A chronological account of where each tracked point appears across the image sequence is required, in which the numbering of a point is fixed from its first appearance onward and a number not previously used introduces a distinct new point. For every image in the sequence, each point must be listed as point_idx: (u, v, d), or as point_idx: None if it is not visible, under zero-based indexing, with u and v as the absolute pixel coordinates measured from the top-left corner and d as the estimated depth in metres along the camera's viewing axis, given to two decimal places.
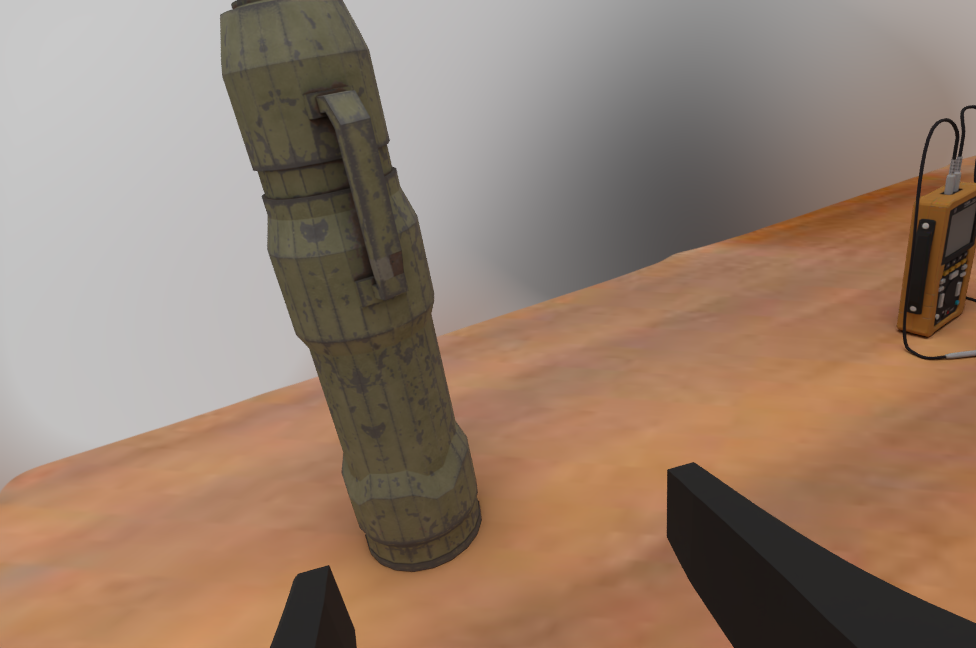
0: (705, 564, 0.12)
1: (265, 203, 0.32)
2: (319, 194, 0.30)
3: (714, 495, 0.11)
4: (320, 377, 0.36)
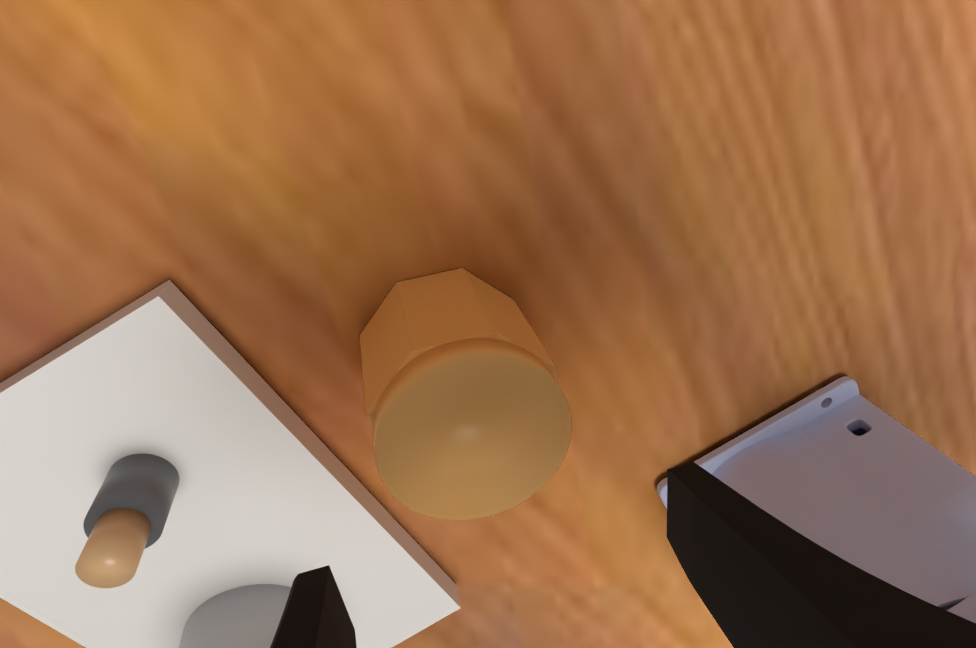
0: (705, 564, 0.12)
1: None
2: None
3: (714, 495, 0.11)
4: None
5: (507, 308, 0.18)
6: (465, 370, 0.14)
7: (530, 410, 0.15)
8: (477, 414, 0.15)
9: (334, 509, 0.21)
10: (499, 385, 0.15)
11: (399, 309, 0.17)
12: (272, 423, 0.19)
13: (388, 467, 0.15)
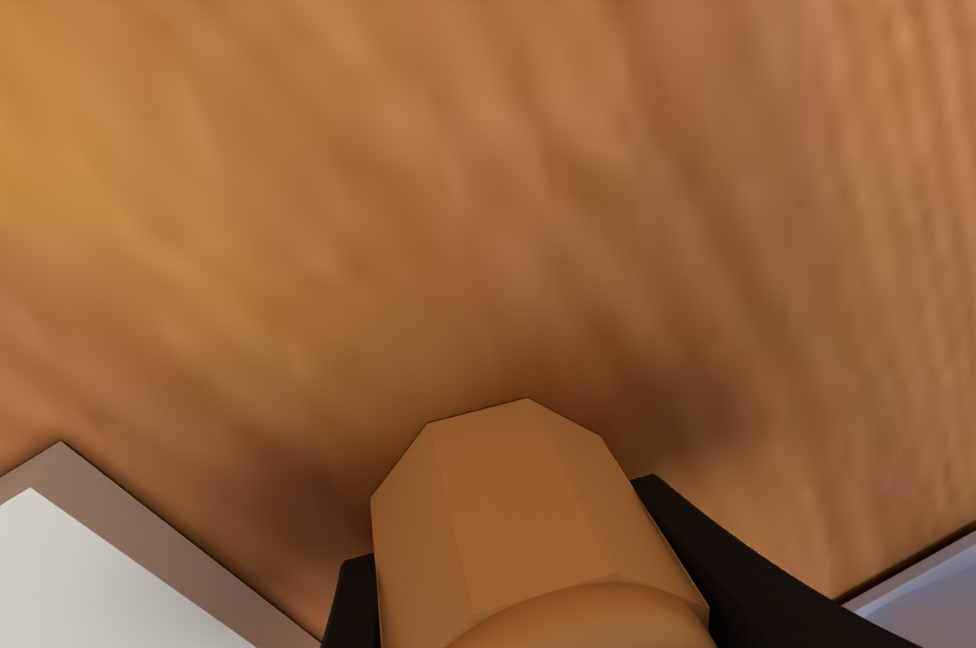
0: None
1: None
2: None
3: (669, 508, 0.11)
4: None
5: (603, 470, 0.12)
6: None
7: None
8: None
9: None
10: None
11: (438, 490, 0.10)
12: (234, 643, 0.12)
13: None
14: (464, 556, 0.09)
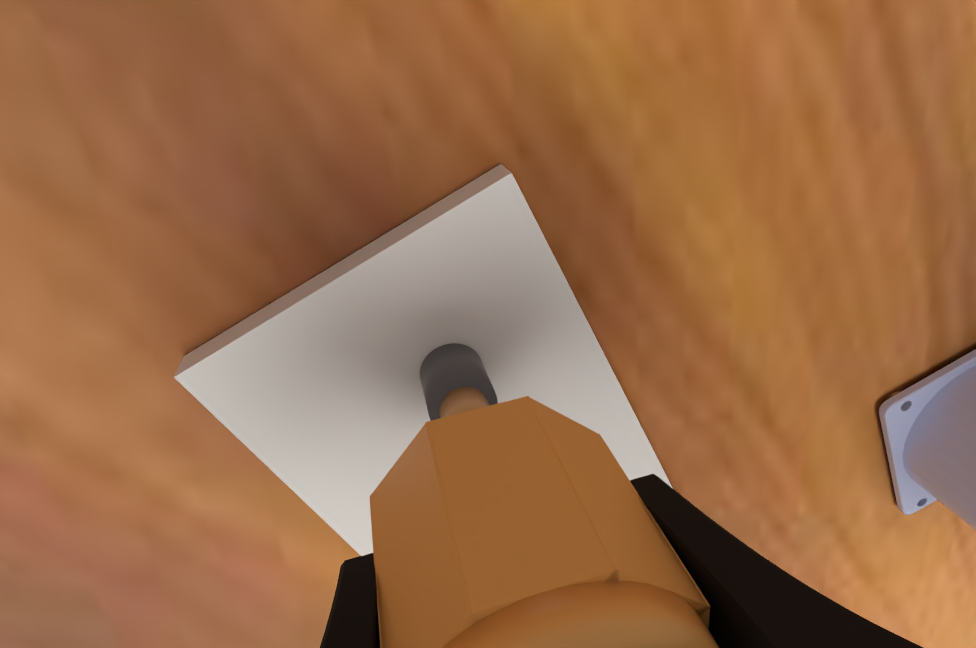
0: None
1: None
2: None
3: (669, 508, 0.11)
4: None
5: (603, 468, 0.12)
6: None
7: None
8: None
9: (608, 412, 0.21)
10: None
11: (438, 488, 0.10)
12: (576, 315, 0.19)
13: None
14: (463, 554, 0.09)
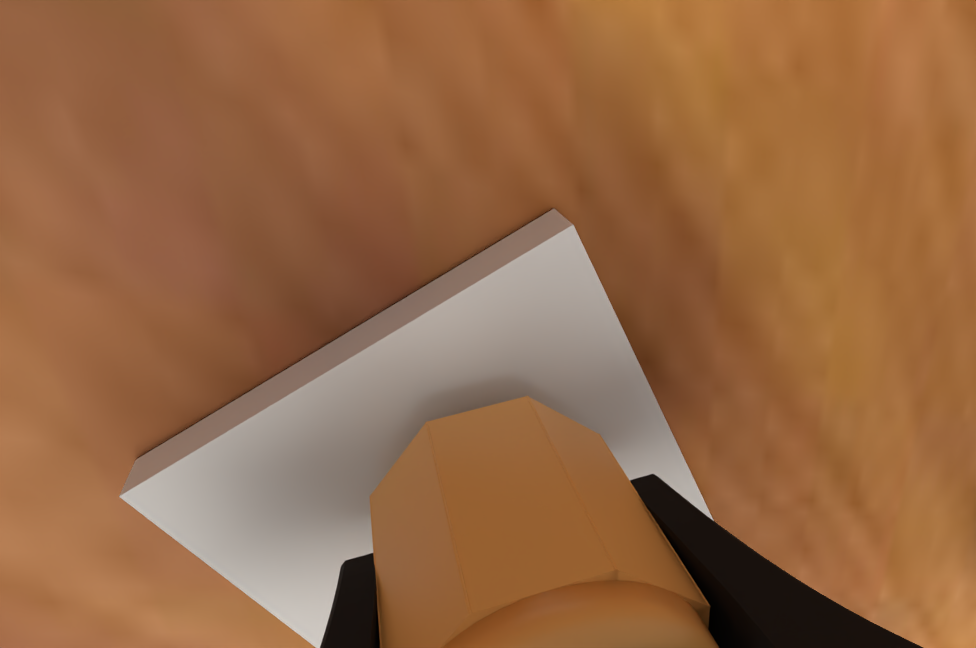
0: None
1: None
2: None
3: (669, 508, 0.11)
4: None
5: (603, 468, 0.12)
6: None
7: None
8: None
9: None
10: None
11: (438, 487, 0.10)
12: (646, 399, 0.14)
13: None
14: (463, 554, 0.09)
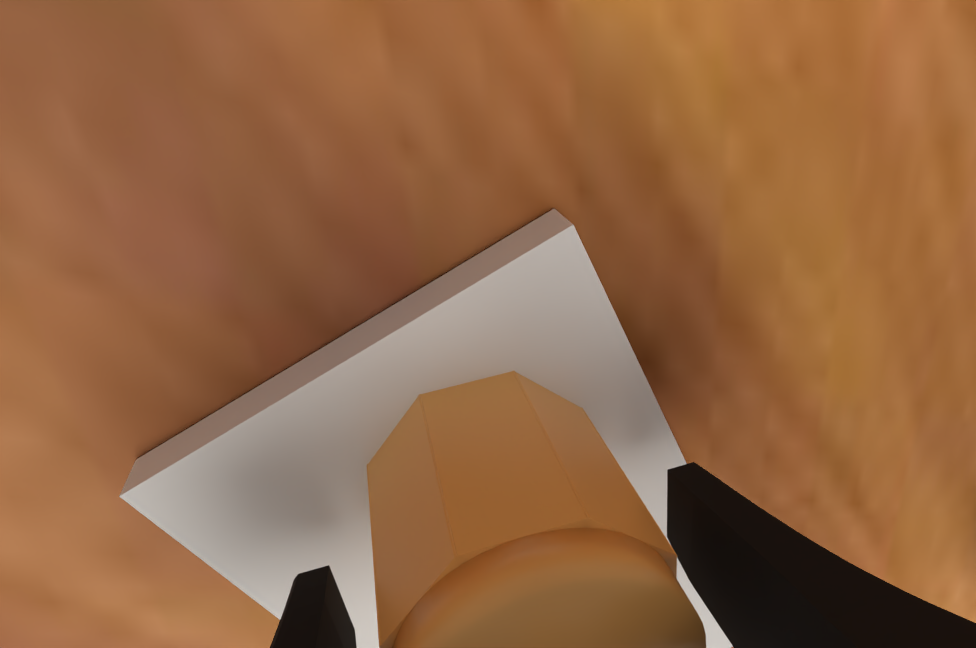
0: (704, 564, 0.12)
1: None
2: None
3: (714, 495, 0.11)
4: None
5: (583, 436, 0.12)
6: (549, 603, 0.08)
7: (645, 642, 0.09)
8: None
9: None
10: (602, 616, 0.09)
11: (428, 452, 0.11)
12: (646, 399, 0.14)
13: None
14: (451, 507, 0.10)
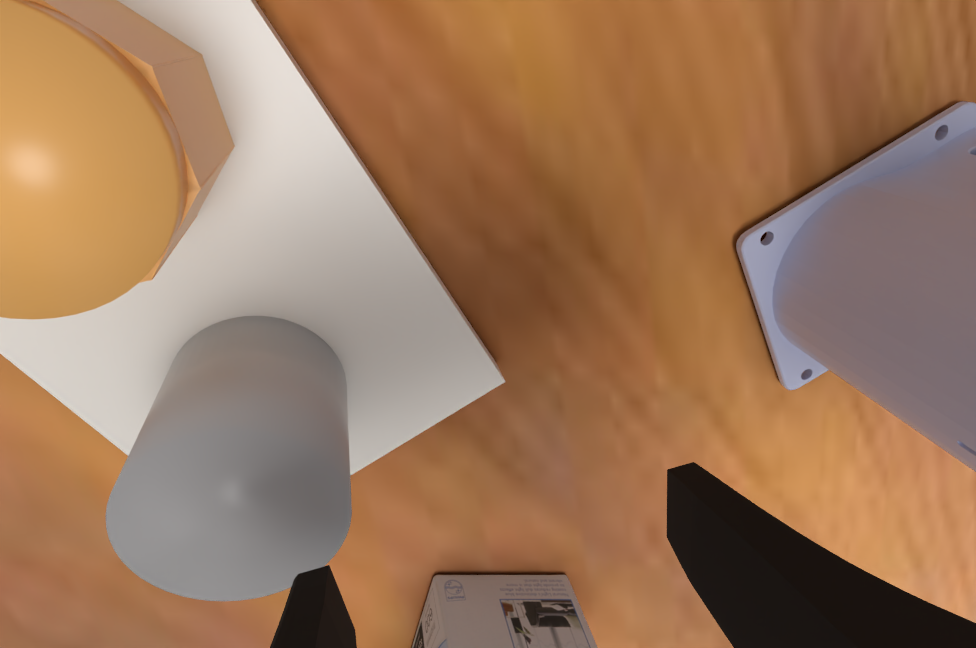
0: (705, 564, 0.12)
1: None
2: None
3: (714, 495, 0.11)
4: None
5: (151, 35, 0.12)
6: None
7: (76, 113, 0.09)
8: None
9: (355, 208, 0.16)
10: None
11: None
12: (275, 53, 0.14)
13: None
14: None
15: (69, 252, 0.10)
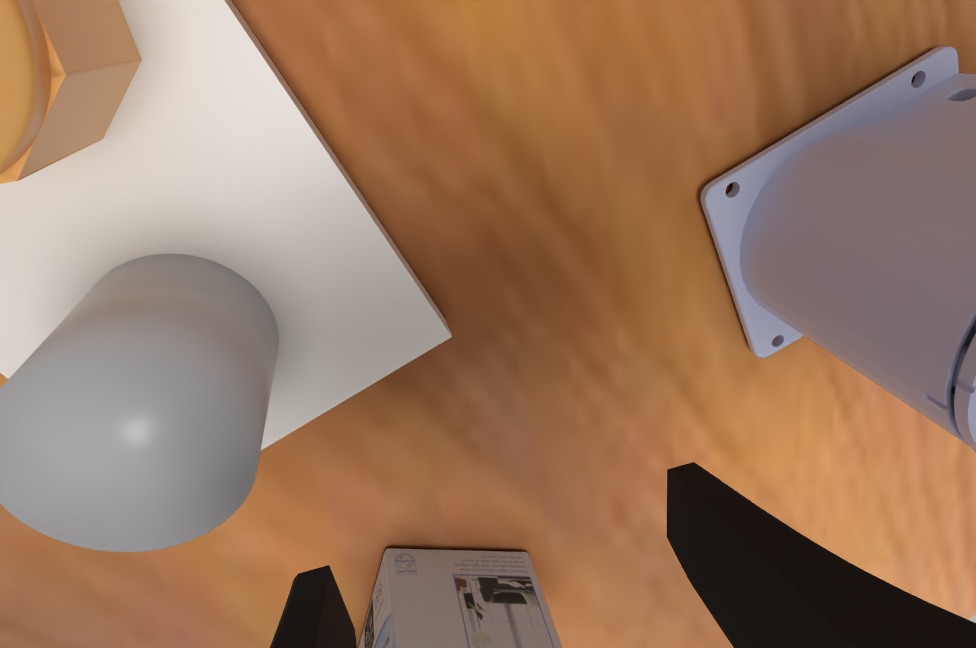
0: (705, 564, 0.12)
1: None
2: None
3: (714, 495, 0.11)
4: None
5: None
6: None
7: None
8: None
9: (279, 136, 0.15)
10: None
11: None
12: None
13: None
14: None
15: None
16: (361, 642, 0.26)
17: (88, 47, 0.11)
